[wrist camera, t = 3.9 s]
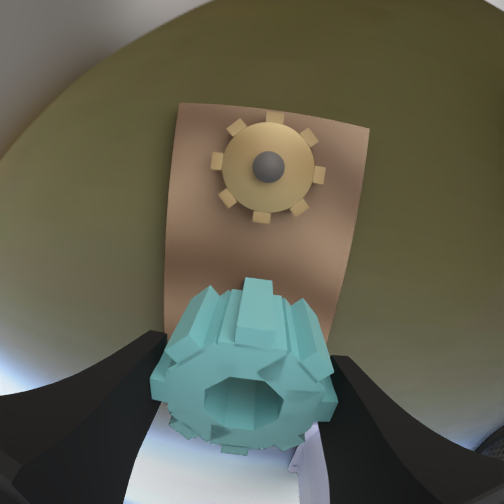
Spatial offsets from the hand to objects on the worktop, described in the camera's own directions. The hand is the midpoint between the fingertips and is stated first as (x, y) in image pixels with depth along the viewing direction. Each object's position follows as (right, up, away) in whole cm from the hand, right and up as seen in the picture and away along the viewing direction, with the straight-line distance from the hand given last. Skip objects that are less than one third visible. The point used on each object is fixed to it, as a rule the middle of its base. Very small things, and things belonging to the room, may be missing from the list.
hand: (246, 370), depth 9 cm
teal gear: (0, 0, +1) cm, 1 cm away
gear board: (0, +2, +8) cm, 8 cm away
